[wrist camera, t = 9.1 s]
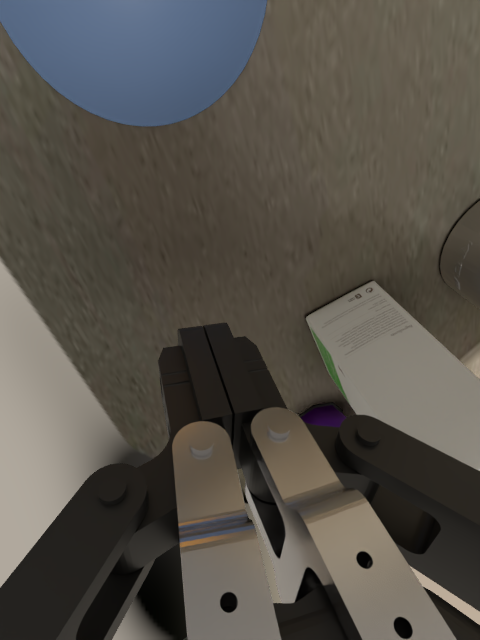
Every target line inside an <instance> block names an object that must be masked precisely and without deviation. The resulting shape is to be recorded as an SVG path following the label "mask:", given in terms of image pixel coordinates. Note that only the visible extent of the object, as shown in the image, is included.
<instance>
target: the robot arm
mask: <svg viewBox="0 0 480 640" xmlns="http://www.w3.org/2000/svg"><path fill="white" fill-rule="evenodd" d="M440 270H441V276H442V278H443V280H444V282H445V283H446V284H447V285H448V286H449V287H451V288H452V289H453V290H455V291H456V292H457V293H459V294H460V295H461V296H462V297H464V298H465V299H466V300H468V301H469V302H470V303H472V304H473V305H474V306H476V307H477V308H478V309H479V310H480V201H479V202H477V203H476V204H475V205H474V206H473V207H472V208H471V209H470V210H468V211H467V212H466V214H465V215H464V216H463V217H462V218H461V219H460V220H459V222H458V223H457V224H456V226H455V227H454V229H453V230H452V232H451V233H450V235H449V237H448V239H447V241H446V243H445V245H444V249H443V252H442V255H441V262H440ZM158 364H159V374H160V384H161V394H162V401H163V407H164V413H165V419H166V424H167V430H168V436H169V441H168V443H167V446H166V447H165V448H164V450H163V451H162V452H161V453H160V454H159V455H158V456H157V457H155V458H154V459H152V460H151V461H149V462H147V463H145V464H143V465H141V466H139V467H138V468H135V467H134V466H131V465H128V464H123V463H120V464H111V465H108V466H105V467H103V468H100V469H99V470H97V471H96V472H94V473H93V474H92V475H91V476H90V477H89V478H88V479H87V480H86V481H85V482H84V484H83V485H82V486H81V487H80V489H79V490H78V491H77V492H76V494H75V495H74V496H73V497H72V499H71V500H70V501H69V502H68V504H67V505H66V506H65V507H64V509H63V510H62V511H61V513H60V514H59V515H58V516H57V517H56V519H55V520H54V521H53V522H52V524H51V525H50V526H49V527H48V529H47V530H46V531H45V533H44V534H43V535H42V536H41V538H40V539H39V540H38V541H37V543H36V544H35V545H34V546H33V548H32V549H31V550H30V551H29V553H28V554H27V555H26V556H25V558H24V559H23V560H22V561H21V563H20V564H19V565H18V567H17V568H16V569H15V570H14V572H13V573H12V574H11V575H10V576H9V578H8V579H7V581H6V582H5V583H4V584H3V585H2V587H1V588H0V640H112V638H113V636H114V635H115V633H116V631H117V629H118V627H119V625H120V623H121V622H122V620H123V618H124V616H125V614H126V612H127V611H128V609H129V607H130V605H131V603H132V602H133V600H134V598H135V596H136V594H137V592H138V590H139V589H140V587H141V585H142V583H143V581H144V579H145V577H146V576H147V574H148V572H149V570H150V568H151V566H152V564H153V562H154V560H155V558H157V557H158V556H160V555H161V554H163V553H164V552H165V551H167V550H169V549H170V548H172V547H173V546H175V545H176V544H178V543H179V542H180V551H181V562H182V575H183V588H184V600H185V612H186V625H187V637H186V638H185V639H184V640H480V625H479V624H477V623H476V622H474V621H473V620H471V619H470V618H469V617H467V616H466V615H464V614H463V613H462V612H460V611H459V610H457V609H456V608H455V607H453V606H452V605H450V604H449V603H448V602H446V601H445V600H443V599H442V598H440V597H439V596H438V595H436V594H435V593H433V592H432V591H430V590H428V589H426V588H425V587H423V586H422V585H421V583H420V582H419V580H418V579H417V577H416V576H415V574H414V572H413V571H412V569H411V568H410V566H411V567H413V568H414V569H416V570H417V571H419V572H420V573H422V574H423V575H425V576H426V577H428V578H430V579H431V580H433V581H434V582H436V583H437V584H439V585H440V586H442V587H443V588H445V589H446V590H448V591H449V592H451V593H452V594H454V595H455V596H457V597H458V598H460V599H462V600H463V601H465V602H466V603H468V604H469V605H471V606H472V607H474V608H475V609H477V610H478V611H480V471H478V470H476V469H474V468H473V467H471V466H469V465H467V464H465V463H463V462H461V461H459V460H457V459H455V458H453V457H451V456H449V455H447V454H445V453H443V452H441V451H439V450H437V449H435V448H433V447H431V446H429V445H427V444H426V443H424V442H422V441H420V440H418V439H416V438H414V437H412V436H410V435H408V434H406V433H404V432H402V431H400V430H398V429H396V428H394V427H392V426H390V425H388V424H386V423H384V422H382V421H380V420H378V419H376V418H374V417H371V416H368V415H353V416H350V417H347V418H346V419H345V420H344V421H343V422H342V423H341V425H340V427H330V426H319V425H312V424H309V423H306V422H303V420H302V419H301V418H300V417H299V416H298V415H297V414H295V413H294V412H292V411H290V410H288V409H287V407H286V405H285V403H284V401H283V399H282V397H281V395H280V393H279V391H278V389H277V387H276V385H275V383H274V381H273V379H272V377H271V375H270V372H269V370H267V366H266V364H265V362H264V360H263V359H262V356H261V354H260V352H259V350H258V348H257V346H256V345H255V344H254V343H253V342H251V341H250V340H249V339H248V338H247V337H245V336H244V337H237V338H233V335H232V333H231V331H230V328H229V326H228V324H227V323H219V324H211V325H204V326H203V327H202V326H197V327H189V328H182V329H178V346H174V347H167V348H163V350H162V353H161V355H160V358H159V360H158ZM240 468H242V470H243V474H244V477H245V480H246V482H245V494H246V498H247V500H248V503H249V505H250V507H251V510H252V513H253V515H254V518H255V520H256V523H257V525H258V528H259V530H260V533H261V535H262V538H263V541H264V543H265V546H266V548H267V550H268V553H269V555H270V558H271V561H272V564H273V567H274V571H275V579H276V584H277V589H278V592H279V596H280V599H281V602H282V603H273V602H272V597H271V593H270V589H269V584H268V580H267V576H266V571H265V567H264V563H263V559H262V554H261V550H260V546H259V541H258V537H257V533H256V530H255V526H254V524H253V522H252V520H250V519H249V518H248V516H247V512H246V508H245V503H244V499H243V494H242V490H241V485H240V481H239V476H238V472H237V469H240ZM409 565H410V566H409Z"/></svg>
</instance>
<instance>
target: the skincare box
mask: <svg viewBox="0 0 480 640" xmlns="http://www.w3.org/2000/svg"><path fill="white" fill-rule="evenodd" d="M306 321H307V323H308V326H309V328H310V330H311V333H312V335H313V338H314V340H315V342H316V345H317V347H318V349H319V352H320V354H321V356H322V359H323V361H324V363H325V366H326V368H327V371H328V373H329V374H330V376H331V378H332V379H333V381H334V382H335V384H336V385H337V386H338V388H339V389H340V391H341V392H342V394H343V395H344V397H345V398H346V400H347V401H348V403H349V404H350V406H351V407H352V408H353V410H354V411H355V413H356V414H357V415H368V416H371V417H374V418H376V419H378V420H380V421H382V422H384V423H386V424H388V425H390V426H392V427H394V428H396V429H398V430H400V431H402V432H404V433H406V434H408V435H410V436H412V437H414V438H416V439H418V440H420V441H422V442H424V443H426V444H427V445H429V446H431V447H433V448H435V449H437V450H439V451H441V452H443V453H445V454H447V455H449V456H451V457H453V458H455V459H457V460H459V461H461V462H463V463H465V464H467V465H469V466H471V467H473V468H474V469H476V470H478V471H480V379H479V378H478V377H476V376H475V375H474V374H473V373H472V372H471V371H470V370H469V369H468V368H467V367H466V366H465V365H464V364H462V363H461V362H460V361H459V360H458V359H457V358H456V357H455V356H454V355H453V354H452V353H451V352H450V351H449V350H447V349H446V348H445V347H444V346H443V345H442V344H441V343H440V342H439V341H438V340H437V339H436V338H435V337H434V336H432V335H431V334H430V333H429V332H428V331H427V330H426V329H425V328H424V327H423V326H422V325H421V324H420V323H419V322H417V321H416V320H415V319H414V318H413V317H412V316H411V315H410V314H409V313H408V312H407V311H406V310H405V309H404V308H403V307H401V306H400V305H399V304H398V303H397V302H396V301H395V300H394V299H393V298H392V297H391V296H390V295H389V294H388V293H387V292H385V291H384V290H383V289H382V288H381V287H380V286H379V285H378V284H377V283H376V282H375V281H371V282H369V283H367V284H365V285H363V286H362V287H360V288H358V289H356V290H354V291H352V292H350V293H348V294H346V295H344V296H343V297H341V298H339V299H337V300H335V301H334V302H332V303H330V304H328V305H326V306H324V307H323V308H321V309H319V310H317V311H315V312H313V313H312V314H310V315H308V316H307V317H306Z"/></svg>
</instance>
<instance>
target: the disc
mask: <svg viewBox="0 0 480 640" xmlns="http://www.w3.org/2000/svg"><path fill="white" fill-rule="evenodd" d="M266 4H267V0H0V21H1V23H2V25H3V26H4V28H5V30H6V31H7V33H8V35H9V36H10V38H11V40H12V41H13V43H14V44H15V45H16V47H17V48H18V49H19V51H20V52H21V53H22V55H23V56H24V57H25V59H26V60H27V61H28V63H29V64H30V65H31V66H32V67H33V68H34V69H35V70H36V71H37V72H38V74H39V75H40V76H41V77H42V78H43V79H44V80H45V81H47V82H48V83H49V84H50V85H51V86H52V87H53V88H54V89H55V90H57V91H58V92H59V93H60V94H62V95H63V96H65V97H66V98H67V99H69V100H70V101H72V102H73V103H74V104H76V105H78V106H80V107H81V108H83V109H85V110H87V111H89V112H90V113H92V114H95V115H97V116H100V117H102V118H105V119H107V120H111V121H114V122H118V123H122V124H127V125H134V126H160V125H167V124H172V123H175V122H179V121H182V120H185V119H187V118H190V117H192V116H194V115H196V114H198V113H200V112H201V111H203V110H205V109H206V108H208V107H209V106H211V105H212V104H213V103H214V102H216V101H217V100H218V99H219V98H220V97H221V96H222V95H224V93H225V92H226V91H227V90H228V89H229V88H230V87H231V86H232V84H233V83H234V82H235V81H236V79H237V78H238V76H239V75H240V73H241V72H242V70H243V69H244V67H245V65H246V64H247V62H248V60H249V58H250V56H251V54H252V52H253V49H254V47H255V44H256V42H257V39H258V37H259V34H260V30H261V27H262V23H263V19H264V15H265V10H266Z"/></svg>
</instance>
